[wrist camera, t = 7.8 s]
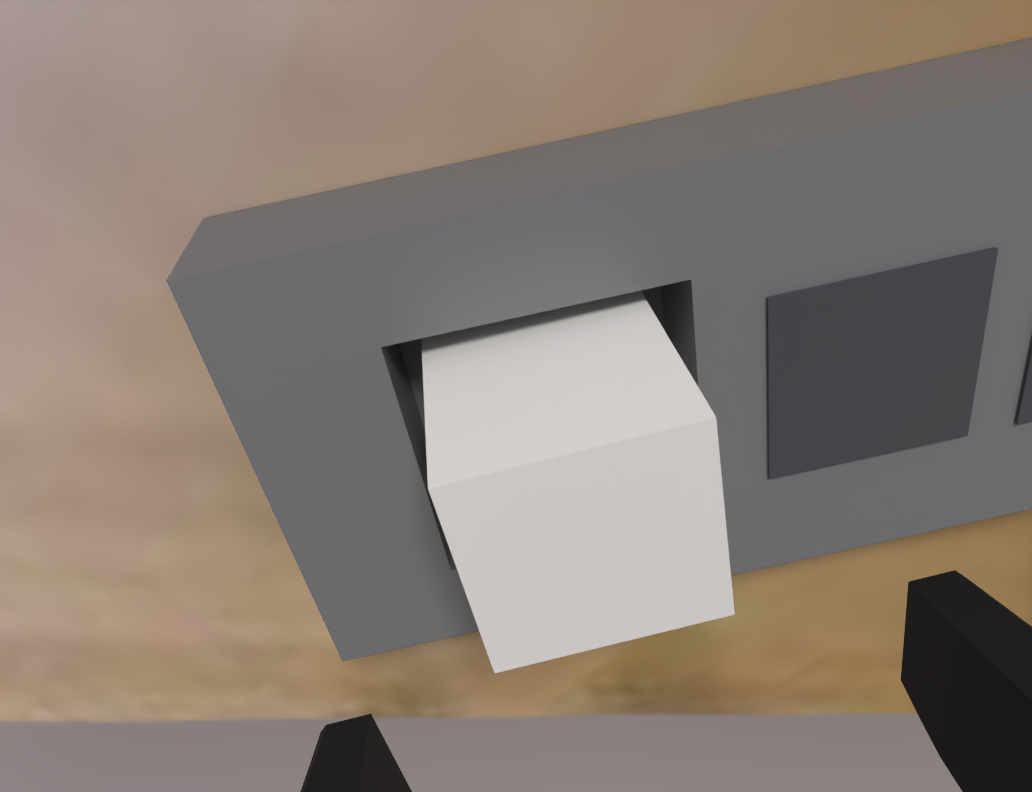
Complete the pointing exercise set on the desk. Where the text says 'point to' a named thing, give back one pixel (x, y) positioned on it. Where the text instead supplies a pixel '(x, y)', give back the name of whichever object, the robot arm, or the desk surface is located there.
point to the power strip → (677, 305)
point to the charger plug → (575, 479)
